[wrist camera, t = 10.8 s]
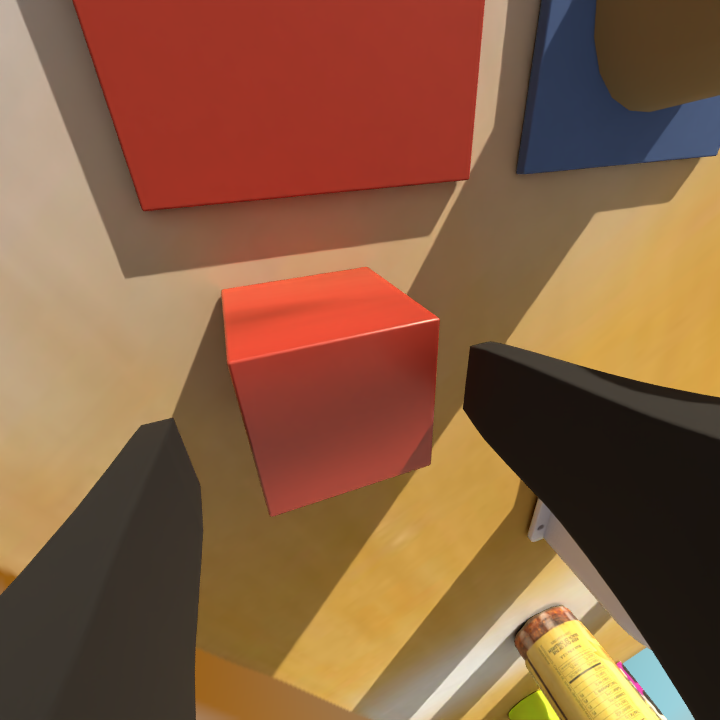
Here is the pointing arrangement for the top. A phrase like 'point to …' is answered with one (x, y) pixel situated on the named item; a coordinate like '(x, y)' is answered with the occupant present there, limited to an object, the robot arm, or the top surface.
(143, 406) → the top surface
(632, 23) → the cork
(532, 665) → the sauce bottle
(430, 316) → the red block
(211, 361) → the top surface
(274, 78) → the red mat
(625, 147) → the blue mat
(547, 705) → the soap dispenser
